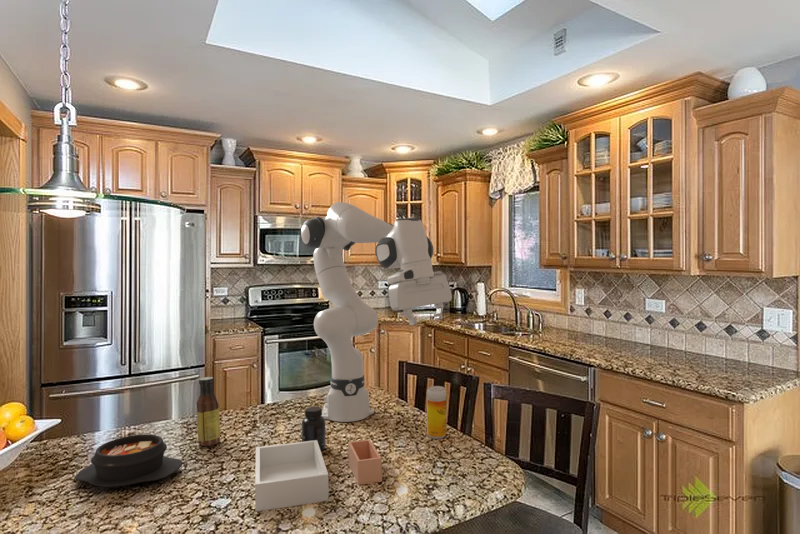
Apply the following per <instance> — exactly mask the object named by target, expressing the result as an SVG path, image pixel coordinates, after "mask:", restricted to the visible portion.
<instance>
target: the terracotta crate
mask: <svg viewBox="0 0 800 534" xmlns="http://www.w3.org/2000/svg"><path fill="white" fill-rule="evenodd" d="M347 444H348V445H347V446H348V449H347V450H348V465H349V468H350V470H351V472H352V475H353V477H354V479H355V481H356V483H357V485H358V486H359V485H360V486H361V485H368V484H372V483H380V482H382V481H383V476H382V475H383V470H382V465H383V464H382V463H383V462H382V460H383V459H382V456H381V455H380V453H379V452H378V450H377V449H376V447H375V445H374V443H373V441H372V440H371V439H362V440H355V441H354V440H353V441H348V443H347Z"/></svg>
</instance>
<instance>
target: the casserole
mask: <svg viewBox="0 0 800 534" xmlns="http://www.w3.org/2000/svg"><path fill="white" fill-rule="evenodd" d="M167 449H168V445H167V444H166V443H165V442H164V439H163V438H162V437H161V436H160V435H155V434H136V435H129V436H124V437H120V438H116V439H112V440H109V441H107V442H105V443H102V444H101V445H99V446H98V447H97V448H96V449H95V452H94V454H93V456H92V457H91V458H90V463H91V464H90V465H87V466H86V467H84V468H83V469H81V470H80V471H78V472H77V474H76V475H75V476H74V479H75V480H76V481H80V482H83V483H88V484H90V485H93V486H95V487H101V488H102V487H103V488H113V487H114V488H115V487H117V488H118V487H126V486H131V485H132V486H133V485H135V484H139V483H147V482H153V481H154V482H155V481H159V480H162V479H165V478H167V477H169V476H170V475H172V474H174V473H176V472H177V471H178V470H180V469H181V468H182V466H183V461H182V460H181V459H179V458H173V457H168V456H165V451H166V450H167Z"/></svg>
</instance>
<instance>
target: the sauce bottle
mask: <svg viewBox="0 0 800 534" xmlns="http://www.w3.org/2000/svg"><path fill="white" fill-rule="evenodd" d="M214 382H215V381H214V377H213V376H206V377H201V378H199V379H198V384H199V396H198V399H197V401H196V421H197V424H196V425H197V439H198V444H199V446H202V447H210V446H215V445H217V444H218V443H220V441H221V438H220V437H221V426H220V425H221V424H220V410H219V409H220V408H219V407H220V406H219V403H218V400H217V398H216V395H215V392H214Z"/></svg>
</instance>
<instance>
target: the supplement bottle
mask: <svg viewBox="0 0 800 534" xmlns="http://www.w3.org/2000/svg"><path fill="white" fill-rule="evenodd" d="M322 411H323V408H322V407H320V406H310V407H309V406H308V407H306V408H305V409H304V418H302V421H301V442H305V441H314V440H317V441H318V444H319V448H320V451H321V453H322V452H323V451H325V450H326V419H324V418H323V417H322Z"/></svg>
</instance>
